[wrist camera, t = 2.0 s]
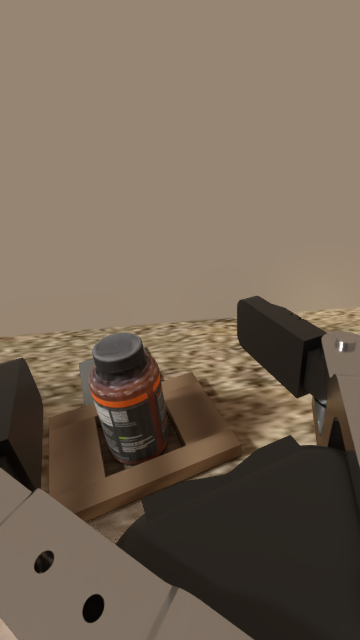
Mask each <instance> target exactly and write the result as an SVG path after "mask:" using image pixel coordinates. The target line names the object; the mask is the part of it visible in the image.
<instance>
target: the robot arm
mask: <svg viewBox="0 0 360 640" xmlns="http://www.w3.org/2000/svg"><path fill="white" fill-rule="evenodd" d="M237 336H238V340H239V343H240V345H241V346H242V348H243V349H244V350H245V351H246V352H247V353H249V354H250V355H251V356H252V357H253V358H254V359H255V360H256V361H257V362H258V363H259V364H260V365H261V366H263V367H264V368H265V369H266V370H267V371H268V372H269V373H270V374H271V375H272V376H273V377H274V378H275V379H277V380H278V381H279V382H280V383H281V384H282V385H283V386H284V387H285V388H286V389H287V390H288V391H289V392H291V393H292V394H293V395H294V396H295V397H296V398H299V397H302V396H304V395H307V394H309V393H310V394H311V395H312V396H313V397H312V411H313V419H314V427H315V435H316V443H317V446H316V445H302V446H300V445H299V444H298V443H297V442H296V441H295V440H294V438H293V437H292V436H291V435H289V436H287V437H285V438H282V439H280V440H278V441H275V442H273V443H271V444H268V445H266V446H264V447H261V448H259V449H257V450H256V451H255V452H254V453H252V454H251V455H250V456H249V457H248V458H246V459H245V460H244V461H243V462H242V463H240V464H239V465H238V466H237V467H235V468H234V469H233V470H232V471H231V472H229V473H227V474H225V475H220V476H214V477H208V478H202V479H196V480H190V481H183V482H180V483H178V484H176V485H173V486H171V487H169V488H167V489H164V490H162V491H160V492H157V493H155V494H153V495H150V496H148V497H146V498H143V499H141V500H142V504H143V508H144V511H145V514H144V515H142V516H141V517H140V518H139V519H137V520H136V521H135V522H134V523H133V524H132V525H131V526H130V527H129V528H128V529H127V530H126V532H125V533H124V534H123V535H122V537H121V538H120V539H119V540H118V542H117V543H116V545H115V544H114V543H112V542H111V541H110V540H108V539H107V538H106V537H104V536H103V535H102V534H100V533H99V532H98V531H96V530H95V529H94V528H92V527H91V526H90V525H88V524H87V523H86V522H84V521H83V520H82V519H80V518H79V517H78V516H76V515H75V514H74V513H72V512H71V511H70V510H69V509H67V508H66V507H65V506H63V505H62V504H61V503H59V502H58V501H57V500H55V499H54V498H53V497H51V496H50V495H49V494H47V493H46V492H44V491H43V490H41V464H42V435H43V404H42V399H41V396H40V393H39V391H38V388H37V386H36V384H35V381H34V379H33V377H32V374H31V372H30V370H29V367H28V365H27V363H26V361H25V359H24V358H19V359H16V360H12V361H8V362H4V363H1V364H0V618H1V619H2V620H3V621H4V623H5V624H6V625H7V626H8V628H9V629H10V630H11V631H12V633H13V634H14V635H15V636H16V637H17V639H18V640H360V336H359V335H357V334H354V333H350V332H343V331H336V332H330V333H326V332H325V331H323V330H321V329H320V328H318V327H316V326H315V325H313V324H311V323H309V322H308V321H306V320H304V319H301V317H299V316H298V315H296V314H295V315H294V313H292V312H291V311H289V310H287V309H286V308H284V307H280V306H277V305H274V304H271V303H269V302H267V301H266V300H264V299H263V298H261V297H259V296H254V297H250V298H246V299H242V300H240V301H239V302H238V304H237Z"/></svg>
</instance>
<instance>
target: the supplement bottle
mask: <svg viewBox="0 0 360 640" xmlns="http://www.w3.org/2000/svg"><path fill="white" fill-rule="evenodd" d="M92 354H93V358H94V362H95V366H94V367H93V368H92V370H91V372H90V375H89V387H90V391H91V394H92V397H93V400H94V403H95V406H96V409H97V413H98V416H99V419H100V422H101V425H102V428H103V431H104V434H105V438H106V441H107V444H108V447H109V449H110V452H111V454H112V455H113V457H114V458H115V459H116V460H118V461H119V462H121V463H123V464H127V465H138V464H141V463H144V462H146V461H149V460H151V459H154V458H156V457H158V456H159V455H160V454H161V453H162V452H163V450H164V449H165V447H166V446H167V443H168V440H169V426H168V420H167V414H166V408H165V402H164V396H163V390H162V384H161V378H160V373H159V368H158V365H157V362H156V361H155V359H154V358H153V357H152V356H151V355H149V354H148V353H146V352H144V349H143V344H142V340H141V338H140V337H138V336H137V335H135V334H132V333H116V334H112V335H109V336H106V337H104V338H102V339H101V340H100V341H98V342H97V343H96V344H95V345H94V347H93V350H92Z"/></svg>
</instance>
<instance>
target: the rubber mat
mask: <svg viewBox="0 0 360 640" xmlns="http://www.w3.org/2000/svg"><path fill="white" fill-rule="evenodd" d="M143 349H144V347H143ZM144 352H146V351H145V349H144ZM94 366H95V362H94V359H91V360H87V361H84V362H80V363H79V368H80V375H81V382H82V389H83V396H84V403H85V406H88V405H91V404H94V400H93V397H92V394H91V391H90V387H89V375H90V372H91V370H92V368H93V367H94Z"/></svg>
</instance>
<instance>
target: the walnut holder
mask: <svg viewBox="0 0 360 640" xmlns="http://www.w3.org/2000/svg"><path fill="white" fill-rule="evenodd" d="M161 384H162V390H163V396H164V402H165V408H166V412H167V414H168V416H169V418H170V420H171V422H172V424H173V426H174V428H175V431H176V433H177V435H178V437H179V439H180V441H181V443H182V445H183V447H182V448H179V449H177V450H174V451H171V452H169V453H166V454H164V455H161V456H159V457H156V458H154V459H151V460H149V461H146V462H144V463H141V464H138V465H136V466H133V467H131V468H128V469H126V470H123V471H121V472H118V473H116V474H113V475H110V476H108V477H107V475H106V469H105V464H104V458H103V453H102V447H101V442H100V436H99V431H98V426H101V422H100V419H99V416H98V413H97V409H96V406H95V403H94V404H91V405H88V406H85V407H81V408H78V409H75V410H72V411H69V412H66V413H63V414H60V415H56V416H53V417H50V418H49V495H50V496H51V497H53V498H54V499H55V500H57V501H58V502H59V503H61V504H62V505H63V506H65V507H66V508H67V509H69V510H70V511H71V512H72V513H74V514H75V515H76V516H78V517H79V518H80V519H82V520H83V521H84V522H86V521H88V520H91V519H93V518H95V517H98V516H100V515H102V514H105V513H107V512H110V511H112V510H114V509H117V508H119V507H121V506H124V505H126V504H128V503H131V502H133V501H135V500H138V499H140V498H142V497H145V496H147V495H149V494H152V493H154V492H156V491H159V490H161V489H163V488H166V487H168V486H170V485H173V484H175V483H177V482H180V481H182V480H185V479H187V478H189V477H192V476H194V475H196V474H199V473H201V472H203V471H206V470H208V469H210V468H213V467H215V466H217V465H220V464H222V463H224V462H227V461H229V460H231V459H234V458H236V457H238V456H241V443H240V441H239V440H238V439H237V437H236V436H235V434H234V433H233V431H232V430H231V428H230V427H229V425H228V424H227V423H226V421H225V420H224V418H223V417H222V415H221V414H220V412H219V411H218V409H217V408H216V407H215V405H214V404H213V402H212V401H211V399H210V398H209V396H208V395H207V394H206V392H205V391H204V389H203V388H202V386H201V385H200V383H199V382H198V380H197V379H196V378H195V376H194V375H193V373H192V372H191V373H187V374H184V375H181V376H178V377H175V378H172V379H169V380H166V381H162V382H161Z"/></svg>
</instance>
